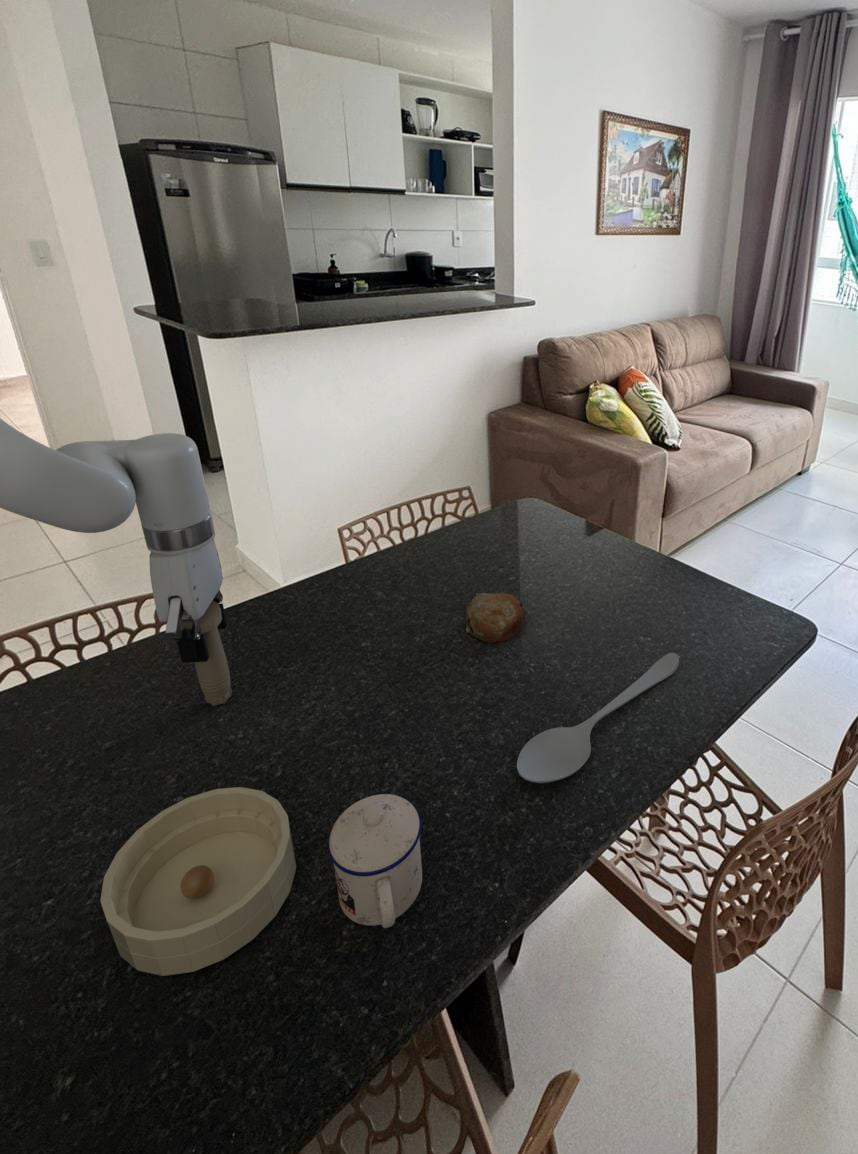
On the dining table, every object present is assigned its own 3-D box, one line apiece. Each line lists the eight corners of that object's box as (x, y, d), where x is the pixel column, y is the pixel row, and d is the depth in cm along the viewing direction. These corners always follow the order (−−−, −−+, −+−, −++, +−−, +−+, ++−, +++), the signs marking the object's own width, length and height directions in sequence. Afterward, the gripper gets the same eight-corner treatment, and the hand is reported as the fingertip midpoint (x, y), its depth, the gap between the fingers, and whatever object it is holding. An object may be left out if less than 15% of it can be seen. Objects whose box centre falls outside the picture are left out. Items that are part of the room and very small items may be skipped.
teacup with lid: (333, 865, 74) (321, 790, 69) (416, 837, 77) (410, 765, 73) (343, 973, 64) (330, 895, 59) (438, 936, 68) (433, 859, 63)
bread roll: (464, 634, 118) (446, 607, 113) (508, 596, 122) (492, 568, 117) (495, 664, 111) (477, 636, 106) (540, 622, 115) (524, 594, 110)
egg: (203, 868, 68) (220, 888, 69) (202, 853, 71) (219, 872, 72) (174, 891, 67) (191, 911, 68) (174, 875, 69) (191, 894, 70)
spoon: (543, 808, 82) (544, 793, 81) (499, 772, 86) (500, 757, 85) (693, 678, 107) (696, 665, 106) (654, 655, 112) (656, 642, 111)
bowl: (81, 991, 61) (64, 951, 59) (159, 832, 76) (147, 794, 74) (272, 965, 64) (263, 926, 62) (311, 817, 79) (305, 780, 77)
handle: (200, 719, 92) (178, 631, 86) (199, 690, 97) (179, 605, 91) (239, 708, 94) (221, 621, 88) (237, 680, 99) (219, 596, 93)
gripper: (175, 500, 91) (199, 608, 99) (113, 567, 76) (147, 689, 83) (233, 499, 93) (253, 606, 100) (184, 565, 77) (212, 685, 84)
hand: (205, 643), depth 91 cm, fingers closed on handle, 6 cm apart
